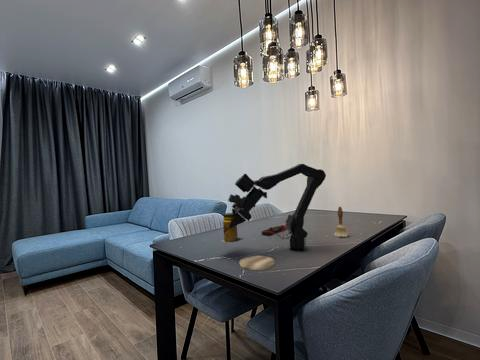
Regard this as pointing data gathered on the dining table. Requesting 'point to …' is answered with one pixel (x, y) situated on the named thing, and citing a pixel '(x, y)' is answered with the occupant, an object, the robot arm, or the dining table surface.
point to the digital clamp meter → (275, 231)
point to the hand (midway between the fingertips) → (228, 225)
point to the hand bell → (340, 225)
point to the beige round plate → (256, 262)
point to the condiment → (230, 229)
